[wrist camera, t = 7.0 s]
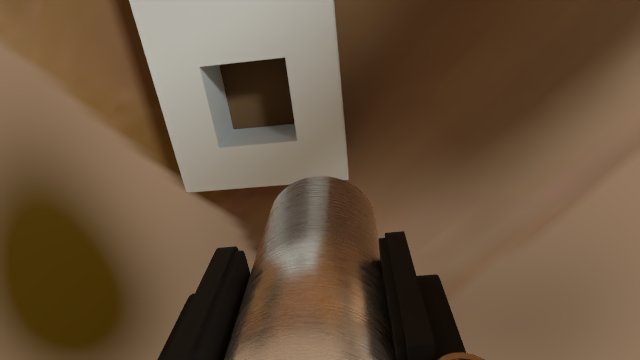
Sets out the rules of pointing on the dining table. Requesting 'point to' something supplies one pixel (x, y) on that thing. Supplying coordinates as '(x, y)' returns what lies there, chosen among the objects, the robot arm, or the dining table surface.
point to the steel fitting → (316, 280)
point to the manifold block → (210, 98)
